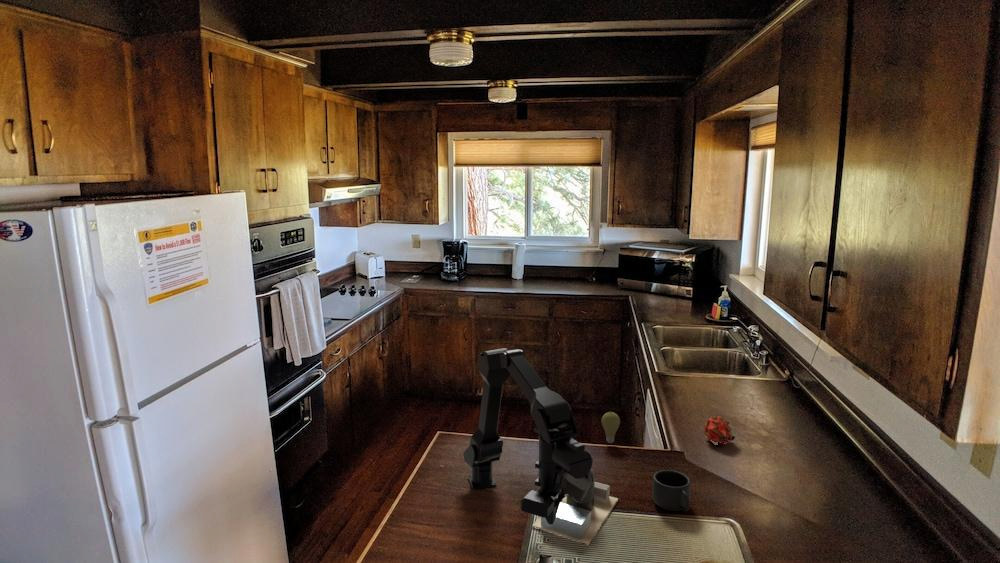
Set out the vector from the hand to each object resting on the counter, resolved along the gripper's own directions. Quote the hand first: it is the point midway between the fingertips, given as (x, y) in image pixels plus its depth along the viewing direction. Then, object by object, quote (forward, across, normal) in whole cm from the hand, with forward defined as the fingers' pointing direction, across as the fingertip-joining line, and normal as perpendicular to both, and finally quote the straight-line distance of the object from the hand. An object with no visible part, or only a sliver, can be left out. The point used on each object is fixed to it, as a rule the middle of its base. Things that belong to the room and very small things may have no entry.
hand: (550, 523), depth 125 cm
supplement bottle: (+6, +18, 0) cm, 19 cm away
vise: (+6, +15, 0) cm, 17 cm away
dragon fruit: (+6, +73, -24) cm, 77 cm away
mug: (+6, +30, -20) cm, 36 cm away
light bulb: (+6, +56, +5) cm, 57 cm away
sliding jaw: (+5, +8, 0) cm, 10 cm away
